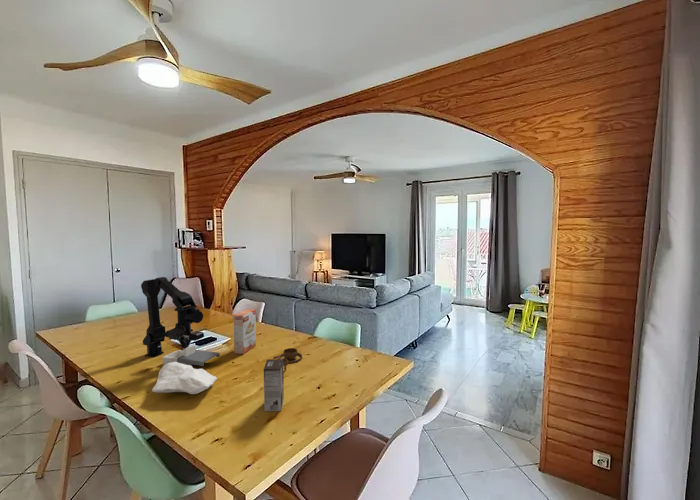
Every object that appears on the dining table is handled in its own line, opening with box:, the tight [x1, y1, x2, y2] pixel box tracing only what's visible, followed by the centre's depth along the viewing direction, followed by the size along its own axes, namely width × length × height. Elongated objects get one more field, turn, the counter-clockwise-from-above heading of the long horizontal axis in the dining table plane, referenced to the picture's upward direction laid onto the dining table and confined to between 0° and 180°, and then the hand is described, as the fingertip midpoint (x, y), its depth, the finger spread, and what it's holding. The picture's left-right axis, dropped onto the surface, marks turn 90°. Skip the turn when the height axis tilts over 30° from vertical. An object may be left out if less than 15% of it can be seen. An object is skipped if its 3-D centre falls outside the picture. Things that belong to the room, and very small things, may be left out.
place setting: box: [273, 347, 303, 372], centre depth 169 cm, size 18×20×6 cm
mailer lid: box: [177, 344, 221, 367], centre depth 165 cm, size 15×12×6 cm
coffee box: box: [263, 358, 285, 412], centre depth 128 cm, size 9×6×16 cm
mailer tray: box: [162, 349, 193, 366], centre depth 168 cm, size 14×10×4 cm
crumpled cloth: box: [151, 362, 218, 395], centre depth 141 cm, size 24×35×9 cm
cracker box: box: [233, 308, 257, 355], centre depth 184 cm, size 14×6×21 cm, turn 168°
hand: (185, 351), depth 167 cm, fingers closed
